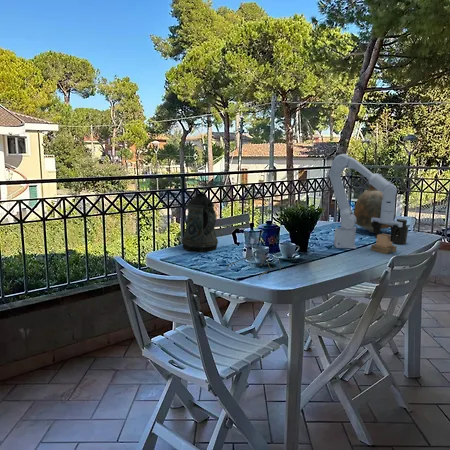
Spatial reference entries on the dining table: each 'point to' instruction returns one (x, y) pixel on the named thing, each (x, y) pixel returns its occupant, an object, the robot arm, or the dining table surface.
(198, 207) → the beer stein
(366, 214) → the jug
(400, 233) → the supplement bottle
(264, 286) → the dining table surface
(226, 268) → the eyeglasses
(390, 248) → the walnut base
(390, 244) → the terracotta cube
